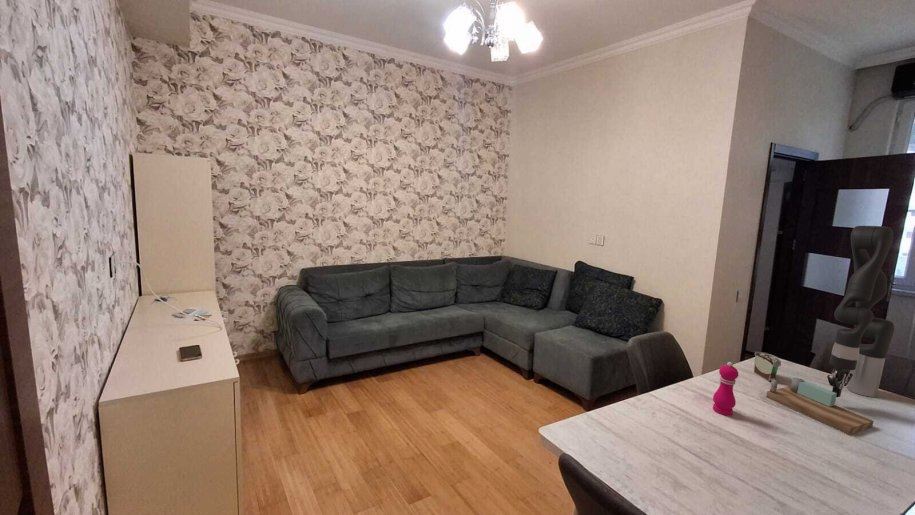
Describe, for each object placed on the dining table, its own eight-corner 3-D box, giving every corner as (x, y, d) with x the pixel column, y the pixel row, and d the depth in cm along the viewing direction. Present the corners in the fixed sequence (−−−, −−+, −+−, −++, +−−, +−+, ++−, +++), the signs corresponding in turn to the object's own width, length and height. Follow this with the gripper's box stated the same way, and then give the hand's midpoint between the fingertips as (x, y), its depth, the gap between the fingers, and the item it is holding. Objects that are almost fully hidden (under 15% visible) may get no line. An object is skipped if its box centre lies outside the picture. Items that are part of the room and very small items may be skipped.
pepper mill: (726, 407, 155) (734, 358, 152) (737, 417, 148) (746, 367, 145) (707, 405, 156) (715, 357, 152) (717, 415, 149) (725, 365, 145)
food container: (785, 384, 177) (789, 362, 175) (771, 383, 177) (774, 362, 175) (764, 371, 189) (768, 351, 187) (751, 370, 189) (754, 351, 187)
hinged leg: (787, 389, 165) (790, 378, 165) (793, 388, 167) (796, 377, 166) (828, 406, 153) (831, 394, 152) (834, 405, 154) (837, 393, 153)
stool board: (788, 391, 169) (792, 375, 168) (872, 427, 145) (876, 408, 143) (766, 397, 164) (769, 380, 163) (848, 434, 139) (852, 415, 138)
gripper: (842, 350, 162) (834, 389, 165) (823, 353, 157) (814, 393, 160) (866, 357, 155) (857, 398, 158) (846, 361, 150) (837, 403, 153)
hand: (835, 396), depth 159 cm, fingers closed
